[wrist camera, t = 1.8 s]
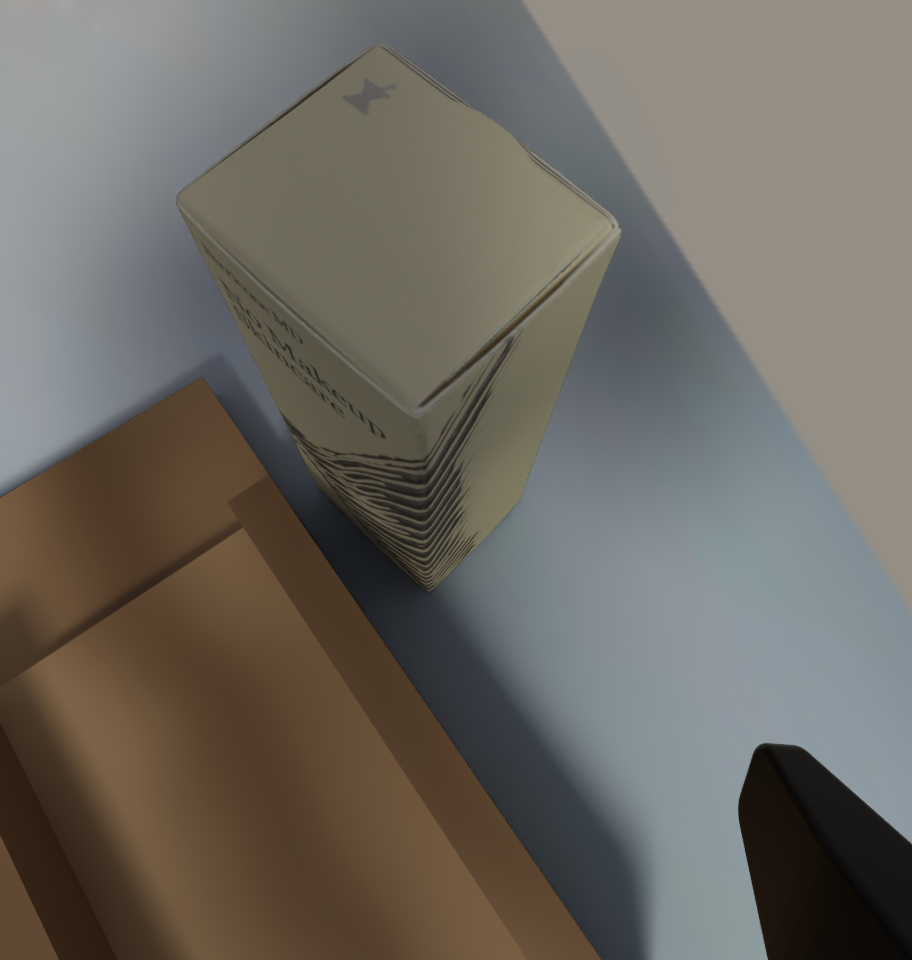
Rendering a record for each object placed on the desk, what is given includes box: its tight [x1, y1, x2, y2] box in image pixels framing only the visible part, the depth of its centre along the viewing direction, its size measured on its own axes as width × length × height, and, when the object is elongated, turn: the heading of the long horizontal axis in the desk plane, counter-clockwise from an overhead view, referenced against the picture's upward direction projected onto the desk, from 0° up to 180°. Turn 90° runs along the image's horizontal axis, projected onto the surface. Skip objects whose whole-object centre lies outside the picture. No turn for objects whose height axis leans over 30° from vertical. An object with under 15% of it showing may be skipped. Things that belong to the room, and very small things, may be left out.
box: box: [176, 42, 622, 592], centre depth 16 cm, size 5×4×13 cm
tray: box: [0, 377, 602, 960], centre depth 17 cm, size 10×21×4 cm, turn 36°
